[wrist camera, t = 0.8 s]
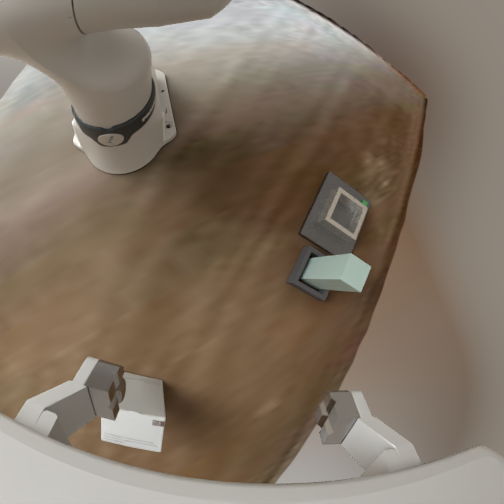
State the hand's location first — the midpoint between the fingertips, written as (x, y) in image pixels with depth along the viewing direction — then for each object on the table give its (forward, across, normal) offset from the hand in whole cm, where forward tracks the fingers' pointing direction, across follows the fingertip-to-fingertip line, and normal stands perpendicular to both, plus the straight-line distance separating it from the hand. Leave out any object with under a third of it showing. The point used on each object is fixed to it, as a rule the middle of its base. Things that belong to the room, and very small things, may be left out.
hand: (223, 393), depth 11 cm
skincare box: (+25, +12, +30) cm, 41 cm away
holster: (+40, -15, +10) cm, 44 cm away
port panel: (+45, -19, +1) cm, 49 cm away
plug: (+40, -15, +10) cm, 44 cm away
